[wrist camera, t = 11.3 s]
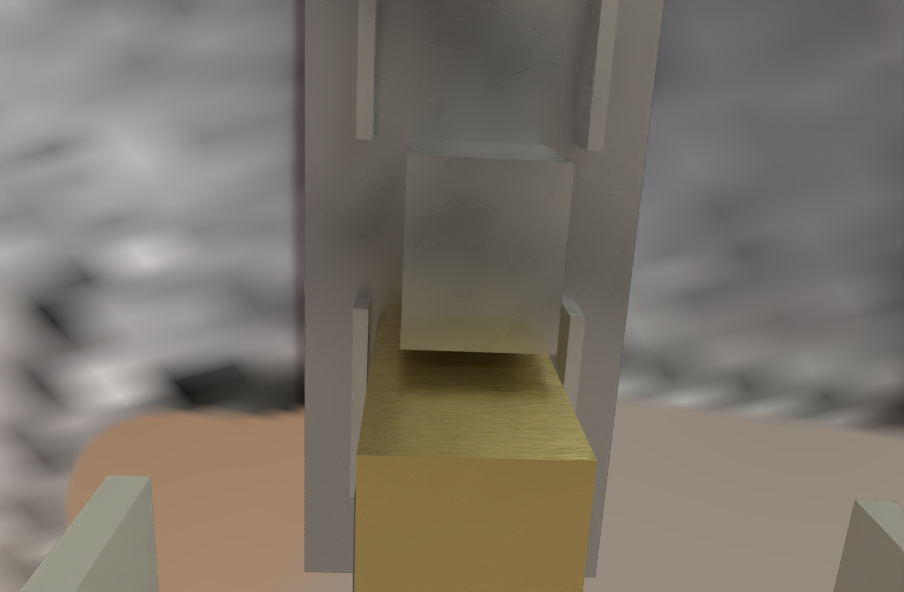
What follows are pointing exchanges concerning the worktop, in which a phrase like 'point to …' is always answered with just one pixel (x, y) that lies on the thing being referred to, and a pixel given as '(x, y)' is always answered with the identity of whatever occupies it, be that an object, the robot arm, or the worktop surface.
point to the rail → (467, 207)
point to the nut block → (469, 474)
